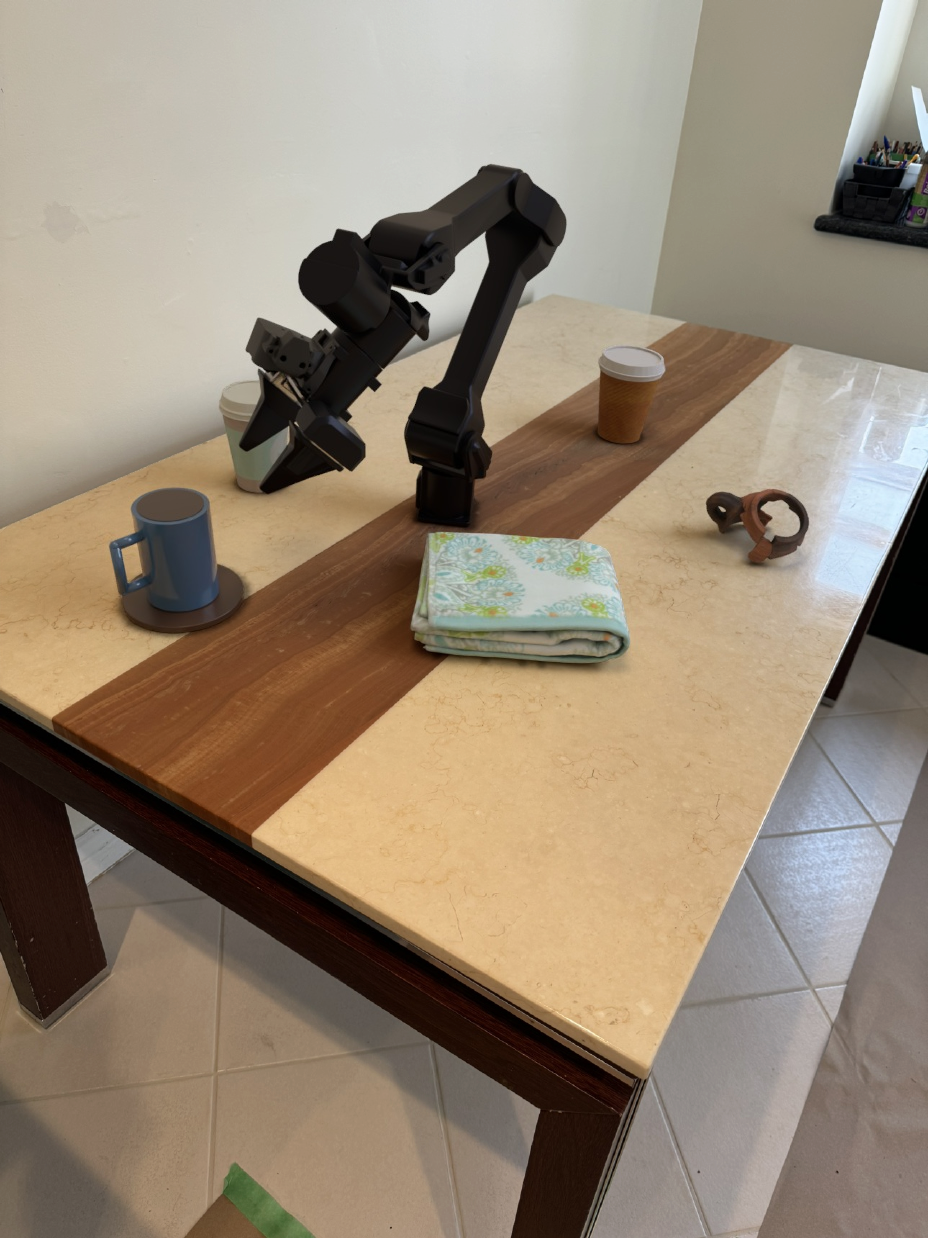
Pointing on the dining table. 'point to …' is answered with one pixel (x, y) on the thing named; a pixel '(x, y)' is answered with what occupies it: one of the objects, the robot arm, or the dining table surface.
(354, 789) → the dining table surface
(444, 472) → the robot arm
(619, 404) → the disposable coffee cup
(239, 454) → the coffee cup
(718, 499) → the brown double ring bracket
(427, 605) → the towel
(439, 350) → the dining table surface
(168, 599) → the mug
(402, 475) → the dining table surface
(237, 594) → the coaster
